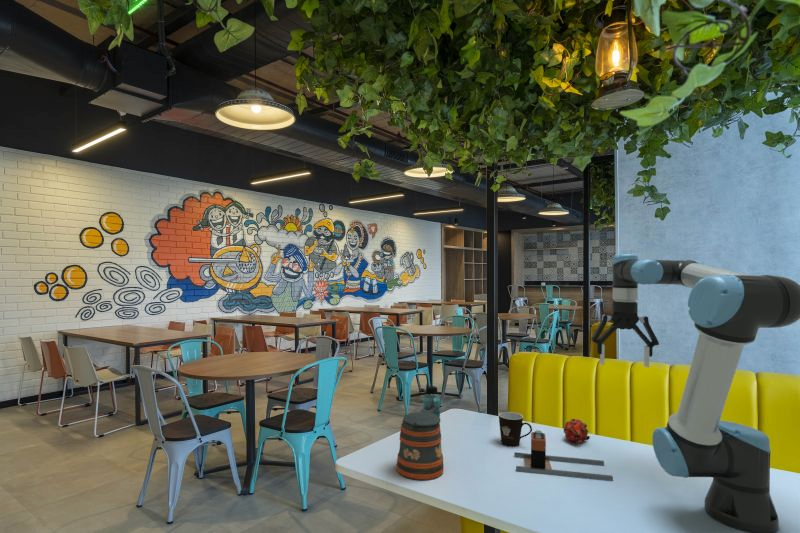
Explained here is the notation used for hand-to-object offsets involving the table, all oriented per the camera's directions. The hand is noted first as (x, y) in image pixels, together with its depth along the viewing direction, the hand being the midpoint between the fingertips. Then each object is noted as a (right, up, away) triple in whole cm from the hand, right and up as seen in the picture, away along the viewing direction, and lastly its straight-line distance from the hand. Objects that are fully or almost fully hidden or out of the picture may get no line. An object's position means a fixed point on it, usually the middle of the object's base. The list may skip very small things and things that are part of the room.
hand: (624, 365), depth 150 cm
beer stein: (-67, -31, -7) cm, 74 cm away
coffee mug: (-34, -32, +13) cm, 48 cm away
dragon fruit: (-9, -32, +17) cm, 37 cm away
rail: (-23, -31, -6) cm, 39 cm away
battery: (-30, -31, -5) cm, 43 cm away
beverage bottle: (-63, -31, +13) cm, 72 cm away
